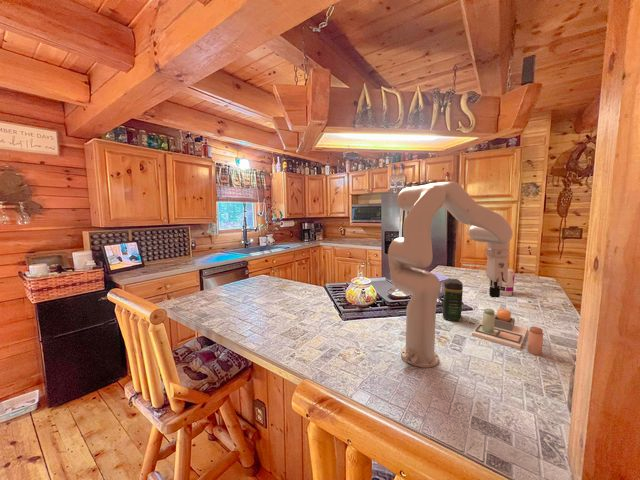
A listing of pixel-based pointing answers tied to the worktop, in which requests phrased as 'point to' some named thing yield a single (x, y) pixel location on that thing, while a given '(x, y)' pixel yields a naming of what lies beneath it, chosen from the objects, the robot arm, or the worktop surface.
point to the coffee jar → (452, 299)
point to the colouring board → (503, 333)
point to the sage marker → (488, 320)
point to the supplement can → (508, 284)
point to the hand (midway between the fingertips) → (494, 296)
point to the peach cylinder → (535, 341)
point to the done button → (503, 315)
